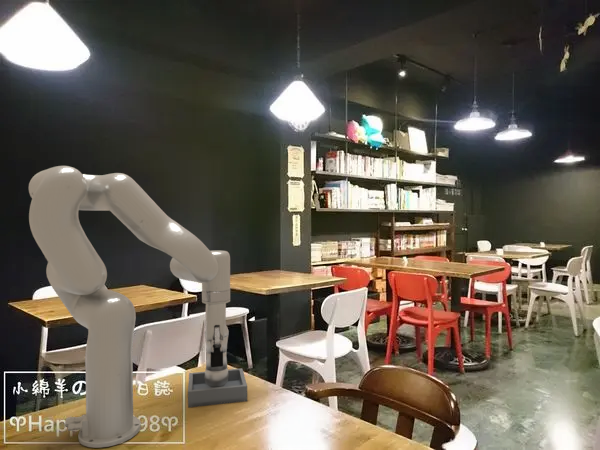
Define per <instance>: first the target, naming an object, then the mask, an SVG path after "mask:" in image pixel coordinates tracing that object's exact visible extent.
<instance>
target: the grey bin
mask: <svg viewBox="0 0 600 450" xmlns="http://www.w3.org/2000/svg"><path fill="white" fill-rule="evenodd" d="M228 373H229V377H228V382H227V383H226V384H225V385H224V386H221V387H209V386H207V384H206V383H205V378H204V376H205V371H199V372H197V371H196V372H189V373H188V386H187V408H197V407H198V408H199V407H205V406H206V407H207V406H215V405H223V404H224V405H225V404H235V403H243V402H248V383H247V380H246V376H245V372H244V369H243V368H231V369H228Z"/></svg>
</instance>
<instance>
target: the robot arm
mask: <svg viewBox="0 0 600 450" xmlns="http://www.w3.org/2000/svg"><path fill="white" fill-rule="evenodd" d="M28 193H29V196H30V198H31V202H30V204H29V211H28V212H29V213H28V222H29V227H30V231H31V234H32V237H33V238H34V240H35V242H36V244H37V246H38V248H39V249H40V250H41V252H42V254H43V255H44V258H45V260H46V261H47V265H46V270H45V272H46V278H47V280H48V282H49V285H50V287H52V289H53V291H54V292H55V294H56V295H57V296H58V298H59V299H60V301H61V303H62V304H63V305H64V307H65V308H66V309H67V311H68V312H69V314H70V315H71V317H72V318H73V319H74V320H75V322H77V323H78V324H79V325H81V326H82V327H84V328H86V329H87V331H88V333H87V334H88V335H87V341H86V348H85V354H84V355H85V358H84V359H85V362H84V364H85V365H84V366H85V414H82V415H81V416H72V417H66V418H65V421H64V427H65V428H67V431H68V432H70V431H71V432H72V431H76V430H79V432H78V442H79V444H81V445H82V446H83V447H87V448H92V449H93V448H95V449H97V448H98V449H100V448H101V449H103V448H109V447H112V446H116V445H120V444H122V443H125V442H126V441H129V440H130V439H132V438H134V437H135V436H136V435H137V434H138V433H139V432H140V430H141V428H142V427H141V424H142V423H141V420H140V419H139V418H138V417H137V416H135V415H134V374H133V372H134V371H133V370H134V369H133V368H134V367H133V365H134V364H133V341H134V333H135V327H136V326H135V325H136V319H137V318H136V317H137V316H136V309H135V305H134V304H133V302H132V300H131V299H130V298H128V297H127V296H126V295H125V294H123V293H120V292H117V291H114V290H111V289H108V287H107V286H106V284H105V283H106V281H107V277H108V272H107V267H106V265H105V263H104V261H103V260H102V258H101V257H100V255H99V254H98V252H97V251H96V249H95V248H94V246H93V245H92V243H91V241H90V239H89V238H88V237H87V235H86V233H85V231H84V229H83V227H82V225H81V223H80V219H79V211H93V212H94V211H101V212H102V211H105V212H106V211H109V212H111V214H113V216H115V217H116V218H117V219H118V220H119V221H120V222H121V223H122V224H123V225H124V226H125V227H126V228H127V229H128V230H129V231H130V232H131V233H132V234H133V235H134V236H135V237H136V238H137V239H138V240H139V241H141V242H143V243H145V244H146V245H148V246H149V247H152V248H154V249H157V250H159V251H161V252H163V253H165V254H167V255H168V256H170V257H171V260H170V262H169V268H170V269H169V270H170V272H171V273H172V275H173V276H174V277H176V278H177V279H180V280H184V281H189V282H194V283H198V284H199V283H200V284H201V302H202V304H205V316H204V317H205V330H206V339H205V342H206V341H207V342H209V340H211V339H212V341H211V342H212V352H211V367H222V366H223V351H222V341H223V340H224V339H225V325H226V321H227V319H226V317H227V311H226V310H227V304H228V303H230V302H231V255H230V253H229V252H228V251H227V250H210V249H209V248H208V247H207V245H205V244H204V242H203V241H202V240H201V239H200V238H198V237H197V236H196V235H195V234H193V233H192V232H191V231H189V230H188V229H187V228H185V227H183V225H181V224H180V223H178V222H177V221H176V220H174V219H172V218H171V217H170V216H169V215H167V214H166V213H165V211H163V209H161V208H160V206H159V205H158V204H157V203H156V202H155V201H154V200H153V199H152V198H151V197H150V196H149V195H148V193H147V192H146V191H145V190H144V189H143V188H142V187H141V185H139V184H138V183H137V182H136V181H135V180H134V179H133V178H132V177H131V176H129V175H128V174H125V173H123V172H122V173H121V172H114V173H108V174H103V175H100V174H99V175H98V174H86V173H82V172H81V171H80V170H79V169H77V168H75V167H72V166H69V165H58V166H53V167H49V168H47V169H44V170H41V171H39V172H37V173H36V174H34V176H32V178H31V179H30V181H29V183H28ZM226 326H227V325H226ZM214 328H215V332H214ZM220 333H221V339H220ZM222 336H223V337H222ZM213 337H215V340H213ZM222 339H223V340H222ZM214 342H215V344H214Z"/></svg>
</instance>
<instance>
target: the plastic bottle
mask: <svg viewBox="0 0 600 450" xmlns="http://www.w3.org/2000/svg"><path fill="white" fill-rule="evenodd" d="M214 332H215V328H214ZM229 332H230V331H229V329H228V326H227V325H225V339H224V340H223V339H222V340H223V341H222V351H223V366H222V367H211V352H212V342H211V341H212V339H211V340H209V342H207V341H206V329H205V331H204V337H205V346H206V364H205V368H204V369H205V370H204V372H205V376H204V378H205V383H206V384H207V386H209V387H221V386H224V385H225V384H226V383H227V382H228V377H229V373H228V370H229V369H228V358H227V349H228V340H229ZM222 337H223V336H222ZM220 339H221V333H220ZM213 340H215V337H213ZM214 344H215V342H214Z"/></svg>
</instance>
